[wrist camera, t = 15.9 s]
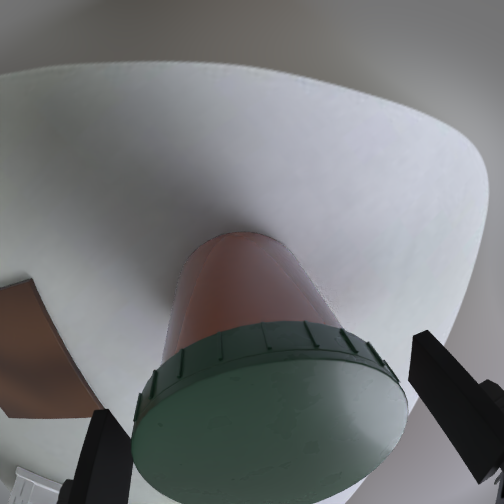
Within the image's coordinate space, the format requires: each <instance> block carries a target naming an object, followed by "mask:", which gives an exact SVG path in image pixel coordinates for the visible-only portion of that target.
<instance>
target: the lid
mask: <svg viewBox="0 0 504 504" xmlns="http://www.w3.org/2000/svg"><path fill="white" fill-rule="evenodd" d="M399 383H400V381H399V379H398V378H397V376H396V375H395V374H394V372H393V371H392V369H391V368H390V367H389V365H388V364H387V363H386V361H385V360H382V359H381V357H380V356H379V354H378V353H377V352H376V350H375V349H374V348H373V346H372V345H371V343H370V342H369V341H368V342H365V341H364V340H362V339H360V338H359V337H357V336H356V335H354V334H352V333H349V332H347V331H345V329H344V328H341V329H340V328H336V327H332V326H329V325H325V324H320V323H312V322H308V321H306V320H304V321H275V322H264V321H263V322H261V323H256V324H251V325H245V326H240V327H236V328H233V329H229V330H225V331H222V332H220V331H219V332H217V333H216V334H214V335H211V336H208V337H206V338H203V339H201V340H199V341H197V342H195V343H193V344H191V345H189V346H187V347H185V348H184V349H182V348H181V349H180V350H179V352H178V353H176V354H175V355H173V356H172V357H171V358H169V359H168V360H167V361H166V362H165V363H164V364H162V365H161V366H160V367H159V368H158V369H157V370H154V371H153V374H152V376H151V378H150V379H149V380H148V382H147V384H146V386H145V388H144V390H143V392H142V394H141V393H139V396H138V401H137V405H136V410H135V415H134V420H133V421H134V426H133V432H132V437H131V454H132V457H133V461H134V464H135V466H136V468H137V470H138V472H139V473H140V474H141V476H142V477H143V478H144V479H145V480H146V481H147V482H148V483H149V484H150V485H151V486H152V487H153V488H155V489H156V490H157V491H159V492H160V493H162V494H163V495H165V496H167V497H169V498H171V499H172V500H175V501H177V502H179V503H182V504H313V503H316V502H319V501H321V500H324V499H326V498H329V497H331V496H333V495H335V494H338V493H340V492H342V491H344V490H345V489H347V488H349V487H351V486H352V485H354V484H356V483H357V482H359V481H360V480H362V479H363V478H364V477H366V476H367V475H368V474H370V473H371V472H372V471H373V470H375V469H376V468H377V467H378V466H379V465H380V464H381V463H382V462H383V461H384V460H385V459H386V458H387V457H388V456H389V454H390V453H391V452H392V451H393V449H394V448H395V446H396V445H397V443H398V442H399V440H400V438H401V436H402V434H403V432H404V429H405V426H406V423H407V418H408V402H407V398H406V395H405V393H404V391H403V389H402V388H401V386H400V385H399Z"/></svg>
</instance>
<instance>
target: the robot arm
mask: <svg viewBox="0 0 504 504" xmlns="http://www.w3.org/2000/svg"><path fill="white" fill-rule="evenodd" d="M408 381H409V382H410V384H411V385H412V387H413V388H414V389H415V391H416V392H417V394H418V395H419V396H420V398H421V399H422V401H423V402H424V403H425V405H426V406H427V408H428V409H429V411H430V412H431V414H432V415H433V416H434V418H435V419H436V421H437V422H438V424H439V425H440V427H441V428H442V430H443V431H444V432H445V434H446V435H447V437H448V438H449V440H450V441H451V443H452V444H453V446H454V447H455V449H456V450H457V452H458V453H459V455H460V456H461V458H462V459H463V461H464V462H465V464H466V465H467V467H468V469H469V470H470V472H471V473H472V475H473V477H474V478H475V479H476V481H477V483H478V484H481V483H482V482H484V481H485V480H487V479H488V478H489V477H491V476H492V475H493V474H495V472H496V471H497V470H498V468H499V467H500V468H501V470H502V472H501V473H500V475H499V476H498V477H497V478H496V480H495V483H494V484H497V483H498V482H499V481H500V483H499V489H498V494H497V500H496V504H504V390H503V389H502V388H501V387H500V386H499V385H498V384H496V383H494V382H492V381H490V380H485V381H484V382H482V383H480V384H478V383H477V382H476V381H475V380H474V379H473V377H471V375H470V374H469V373H468V372H467V371H466V370H465V369H464V368H463V366H461V364H460V363H459V362H458V361H457V360H456V359H455V358H454V357H453V356H452V355H451V354H450V353H449V352H448V350H447V349H446V348H445V347H444V346H443V345H442V344H441V343H440V342H439V341H438V340H437V339H436V338H435V337H434V336H433V335H432V334H431V333H430V332H429V331H428V330H425V331H423V332H421V333H418V334H416V335H413V341H412V351H411V361H410V369H409V377H408ZM132 468H133V457H132V454H131V438H130V437H129V436H128V435H127V433H126V432H125V431H124V429H123V428H122V427H121V425H120V424H119V423H118V421H117V420H116V419H115V417H114V416H113V415H112V413H111V412H110V410H109V409H100V410H94V412H93V415H92V418H91V421H90V424H89V427H88V431H87V434H86V437H85V440H84V444H83V447H82V451H81V454H80V458H79V461H78V465H77V468H76V472H75V476H74V480H70V479H66V481H65V482H64V484H63V485H62V487H61V488H60V491H59V495H58V501H57V503H56V504H128V497H129V490H130V482H131V475H132Z"/></svg>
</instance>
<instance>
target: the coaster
mask: <svg viewBox="0 0 504 504" xmlns="http://www.w3.org/2000/svg"><path fill="white" fill-rule="evenodd" d="M0 407H1V409H2V410H3V411H4V412H5V414H6V415H7V416H8V417H9V418H27V419H62V418H88V417H92V415H93V412H94V410H100V409H104V408H103V406H102V405H101V403H100V402H99V400H98V399H97V397H96V396H95V394H94V393H93V391H92V390H91V388H90V387H89V385H88V384H87V382H86V380H85V379H84V377H83V376H82V374H81V372H80V371H79V369H78V368H77V366H76V364H75V363H74V361H73V359H72V357H71V356H70V354H69V352H68V350H67V349H66V347H65V345H64V343H63V341H62V340H61V338H60V336H59V334H58V332H57V330H56V328H55V326H54V324H53V323H52V321H51V319H50V317H49V315H48V312H47V310H46V308H45V306H44V304H43V302H42V300H41V298H40V296H39V293H38V291H37V289H36V287H35V284H34V282H33V280H32V279H28V280H25V281H22V282H19V283H16V284H12V285H9V286H6V287H3V288H0Z"/></svg>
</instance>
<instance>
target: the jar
mask: <svg viewBox="0 0 504 504" xmlns="http://www.w3.org/2000/svg"><path fill="white" fill-rule="evenodd" d="M304 320H306V321H308V322H312V323H320V324H325V325H329V326H332V327H336V328H340V329H341V328H343V327H342V326H341V324H340V323H339V321H338V320H337V318H336V317H335V315H334V314H333V312H332V311H331V309H330V308H329V306H328V305H327V303H326V302H325V300H324V299H323V297H322V296H321V294H320V293H319V291H318V290H317V289H316V287H315V286H314V284H313V283H312V281H311V280H310V278H309V277H308V275H307V274H306V272H305V271H304V269H303V268H302V267H301V265H300V264H299V262H298V261H297V259H296V258H295V257H294V255H293V254H292V253H291V252H290V251H289V250H288V249H287V248H286V247H285V246H284V245H283V244H281V243H280V242H278V241H277V240H275V239H273V238H271V237H268V236H265V235H262V234H258V233H253V232H233V233H228V234H224V235H221V236H218V237H215V238H213V239H211V240H209V241H207V242H206V243H204V244H203V245H201V246H200V247H199V248H198V249H196V250H195V251H194V252H193V253H192V254H191V256H190V257H189V258H188V259H187V261H186V262H185V264H184V266H183V268H182V270H181V272H180V275H179V278H178V282H177V287H176V291H175V296H174V300H173V305H172V310H171V315H170V320H169V324H168V329H167V334H166V340H165V345H164V350H163V355H162V361H161V365H162V364H164V363H165V362H166V361H167V360H168V359H169V358H171V357H172V356H173V355H175V354H176V353H178V352H179V350H180V349H181V348H182V349H184V348H185V347H187V346H189V345H191V344H193V343H195V342H197V341H199V340H201V339H203V338H206V337H208V336H211V335H214V334H216V333H217V332H219V331H220V332H222V331H225V330H229V329H233V328H236V327H240V326H245V325H251V324H256V323H261V322H263V321H264V322H275V321H304Z"/></svg>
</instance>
